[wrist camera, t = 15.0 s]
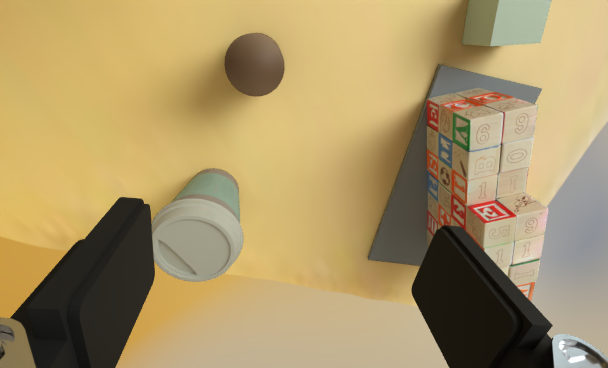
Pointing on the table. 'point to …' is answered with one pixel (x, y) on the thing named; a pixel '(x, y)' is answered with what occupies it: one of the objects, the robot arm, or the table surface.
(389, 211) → the charcoal mat
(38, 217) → the table surface
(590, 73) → the table surface
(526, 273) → the stack of blocks
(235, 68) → the walnut cylinder
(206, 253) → the coffee cup
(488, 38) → the sage cube
